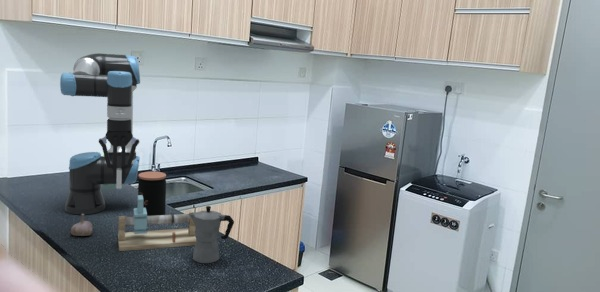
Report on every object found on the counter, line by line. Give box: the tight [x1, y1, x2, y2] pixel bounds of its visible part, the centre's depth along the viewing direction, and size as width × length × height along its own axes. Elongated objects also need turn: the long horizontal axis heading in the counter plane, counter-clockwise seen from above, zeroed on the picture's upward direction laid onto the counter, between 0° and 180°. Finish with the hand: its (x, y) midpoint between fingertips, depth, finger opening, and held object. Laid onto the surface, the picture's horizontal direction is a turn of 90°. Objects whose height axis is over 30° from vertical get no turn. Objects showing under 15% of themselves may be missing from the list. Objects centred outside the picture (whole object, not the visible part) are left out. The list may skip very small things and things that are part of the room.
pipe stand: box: [117, 211, 197, 252], centre depth 167 cm, size 13×26×10 cm, turn 112°
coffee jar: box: [137, 171, 167, 216], centre depth 189 cm, size 11×11×18 cm
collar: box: [133, 194, 148, 234], centre depth 164 cm, size 7×4×12 cm, turn 22°
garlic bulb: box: [70, 214, 94, 237], centre depth 168 cm, size 8×7×8 cm
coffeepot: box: [188, 205, 235, 264], centre depth 156 cm, size 15×9×18 cm, turn 82°
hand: (118, 187), depth 159 cm, fingers closed
